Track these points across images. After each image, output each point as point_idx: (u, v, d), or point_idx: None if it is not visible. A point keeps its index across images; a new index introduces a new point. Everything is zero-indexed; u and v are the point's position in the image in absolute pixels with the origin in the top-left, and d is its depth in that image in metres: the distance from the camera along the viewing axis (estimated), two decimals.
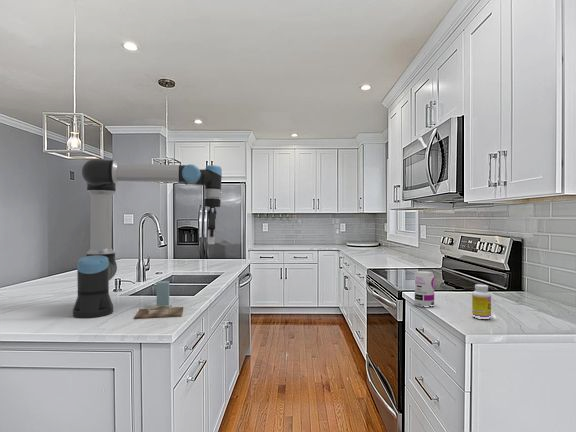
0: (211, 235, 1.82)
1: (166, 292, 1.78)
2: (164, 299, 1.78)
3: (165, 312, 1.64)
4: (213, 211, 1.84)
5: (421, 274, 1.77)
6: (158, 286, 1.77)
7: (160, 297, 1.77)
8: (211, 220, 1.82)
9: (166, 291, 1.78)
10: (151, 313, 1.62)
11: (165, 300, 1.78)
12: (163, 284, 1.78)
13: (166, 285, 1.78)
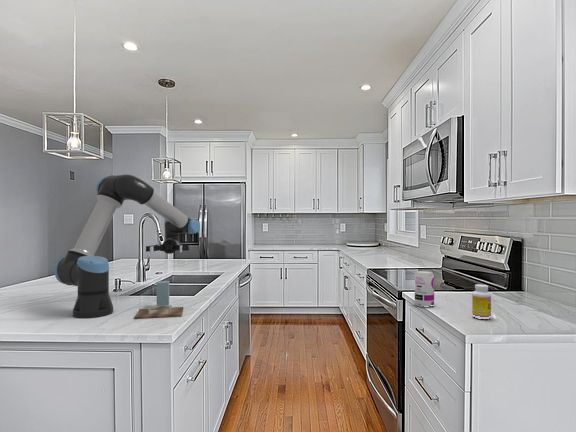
0: (184, 248, 1.96)
1: (166, 292, 1.78)
2: (164, 299, 1.78)
3: (165, 312, 1.64)
4: None
5: (421, 274, 1.77)
6: (158, 286, 1.77)
7: (160, 296, 1.77)
8: None
9: (166, 291, 1.78)
10: (151, 313, 1.62)
11: (165, 300, 1.78)
12: (163, 284, 1.78)
13: (166, 285, 1.78)
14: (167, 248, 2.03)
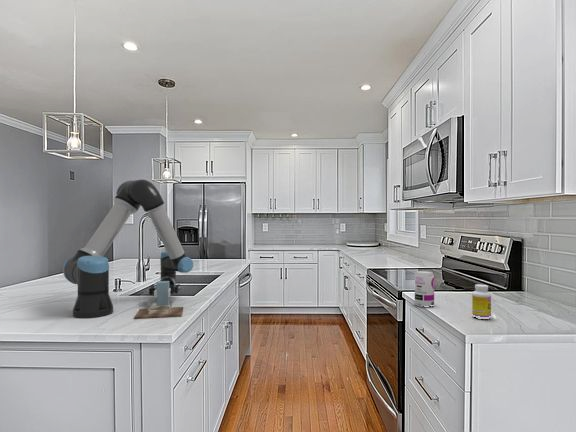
0: (173, 291, 1.80)
1: (166, 292, 1.78)
2: (164, 299, 1.78)
3: (165, 312, 1.64)
4: (178, 288, 1.91)
5: (421, 274, 1.77)
6: (158, 286, 1.77)
7: (160, 296, 1.77)
8: None
9: (166, 291, 1.78)
10: (151, 313, 1.62)
11: (165, 300, 1.78)
12: (163, 284, 1.78)
13: (166, 285, 1.78)
14: None
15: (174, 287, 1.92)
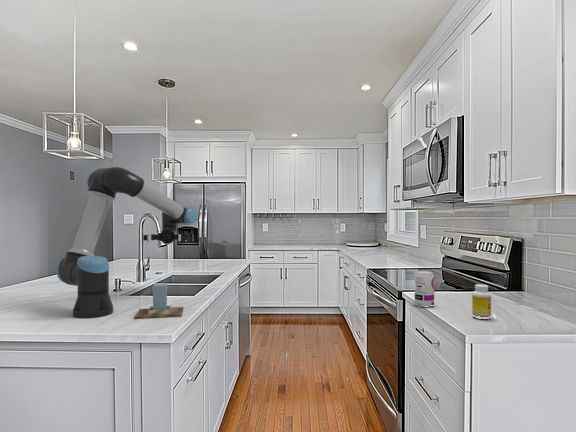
0: (183, 237, 1.91)
1: (163, 296, 1.65)
2: (161, 304, 1.65)
3: (165, 312, 1.64)
4: None
5: (421, 274, 1.77)
6: (155, 289, 1.64)
7: (157, 301, 1.65)
8: None
9: (163, 295, 1.65)
10: (151, 313, 1.62)
11: (162, 304, 1.65)
12: (160, 287, 1.65)
13: (163, 288, 1.65)
14: (165, 237, 1.97)
15: None
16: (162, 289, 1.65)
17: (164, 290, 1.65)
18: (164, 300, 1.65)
